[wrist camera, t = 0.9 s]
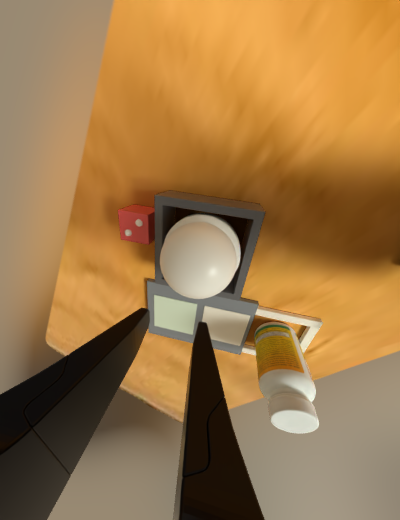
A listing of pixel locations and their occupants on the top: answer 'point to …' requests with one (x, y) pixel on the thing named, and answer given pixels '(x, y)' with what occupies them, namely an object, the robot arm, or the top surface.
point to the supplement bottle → (285, 378)
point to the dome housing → (163, 219)
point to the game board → (215, 318)
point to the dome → (200, 255)
